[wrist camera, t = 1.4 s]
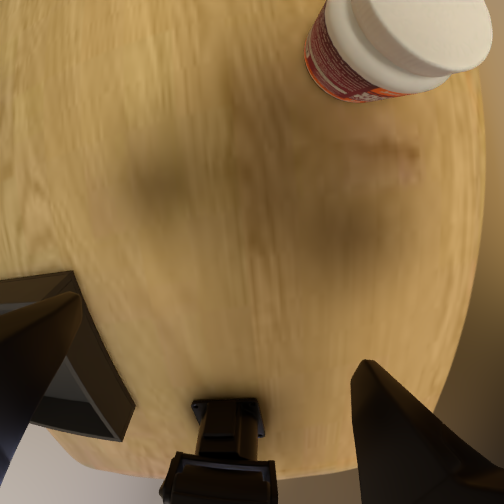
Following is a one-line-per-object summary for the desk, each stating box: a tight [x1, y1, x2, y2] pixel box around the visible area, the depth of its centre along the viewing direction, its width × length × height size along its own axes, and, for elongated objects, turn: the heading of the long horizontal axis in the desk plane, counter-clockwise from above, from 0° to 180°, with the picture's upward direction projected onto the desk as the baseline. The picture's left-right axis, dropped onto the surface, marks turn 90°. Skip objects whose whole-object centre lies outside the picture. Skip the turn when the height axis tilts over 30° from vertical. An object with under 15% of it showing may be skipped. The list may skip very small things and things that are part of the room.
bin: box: [0, 271, 136, 442], centre depth 24 cm, size 16×16×5 cm
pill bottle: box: [304, 0, 493, 103], centre depth 11 cm, size 6×6×11 cm
